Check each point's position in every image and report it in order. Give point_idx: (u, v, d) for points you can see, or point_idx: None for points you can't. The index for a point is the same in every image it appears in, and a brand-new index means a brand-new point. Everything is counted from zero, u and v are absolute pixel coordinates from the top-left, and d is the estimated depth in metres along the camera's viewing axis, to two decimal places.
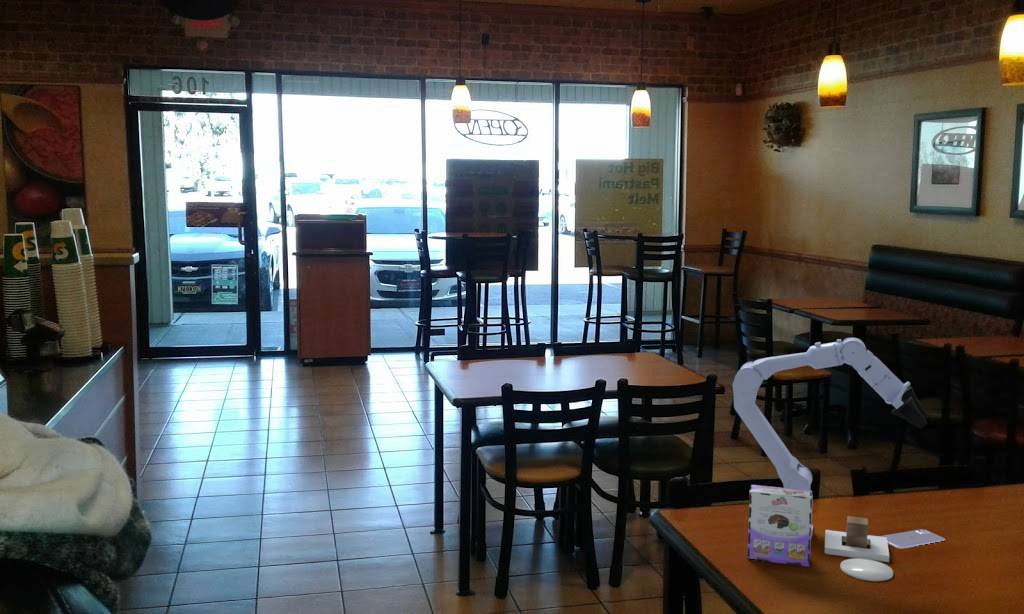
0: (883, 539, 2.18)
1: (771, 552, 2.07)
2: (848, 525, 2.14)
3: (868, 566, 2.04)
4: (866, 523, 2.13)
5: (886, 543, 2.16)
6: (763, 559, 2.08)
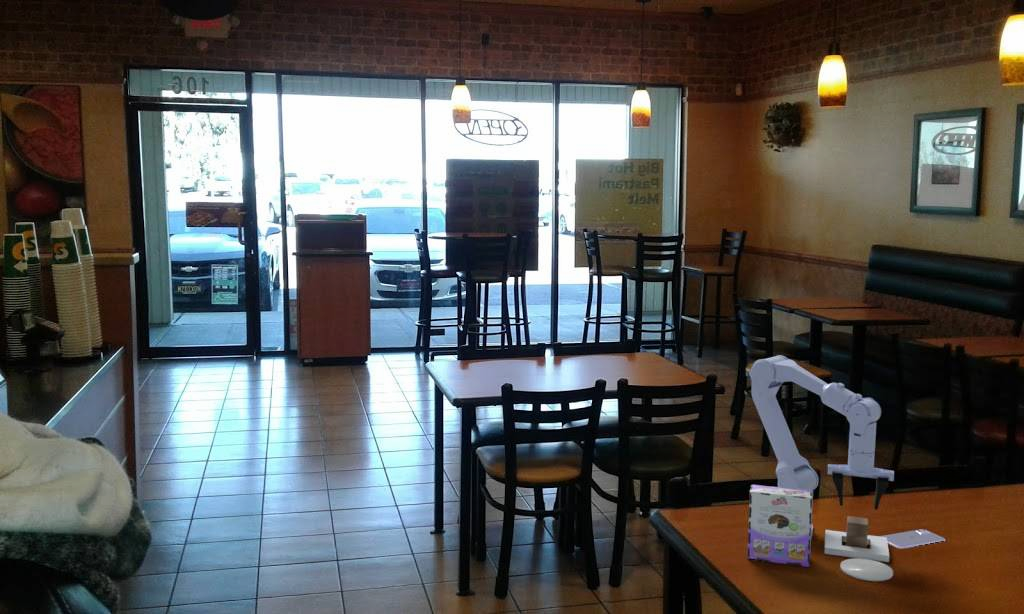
0: (883, 539, 2.18)
1: (771, 552, 2.07)
2: (848, 525, 2.14)
3: (868, 566, 2.04)
4: (866, 523, 2.13)
5: (886, 543, 2.16)
6: (763, 559, 2.08)
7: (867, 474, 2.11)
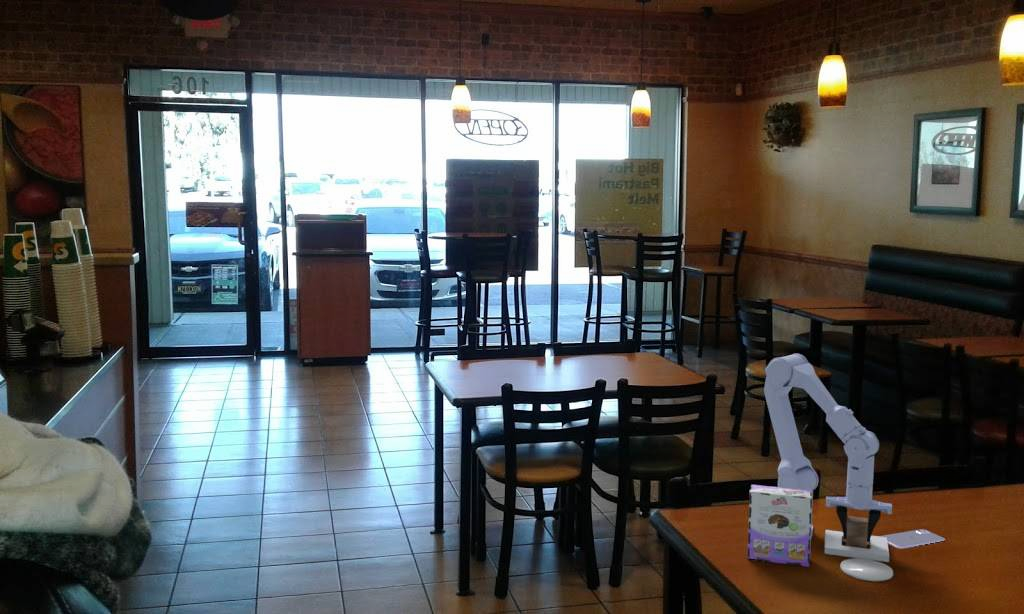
0: (883, 539, 2.18)
1: (771, 552, 2.07)
2: (848, 525, 2.14)
3: (868, 566, 2.04)
4: (866, 523, 2.13)
5: (886, 543, 2.16)
6: (763, 559, 2.08)
7: (865, 507, 2.12)
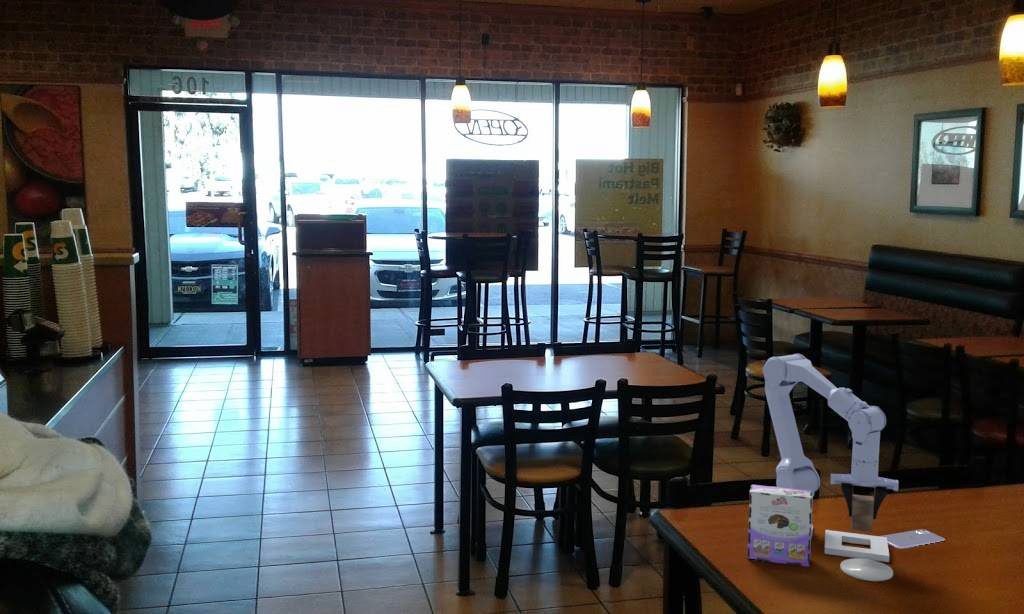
0: (883, 539, 2.18)
1: (771, 552, 2.07)
2: (853, 503, 2.09)
3: (868, 566, 2.04)
4: (872, 501, 2.08)
5: (886, 543, 2.16)
6: (763, 559, 2.08)
7: (871, 484, 2.07)
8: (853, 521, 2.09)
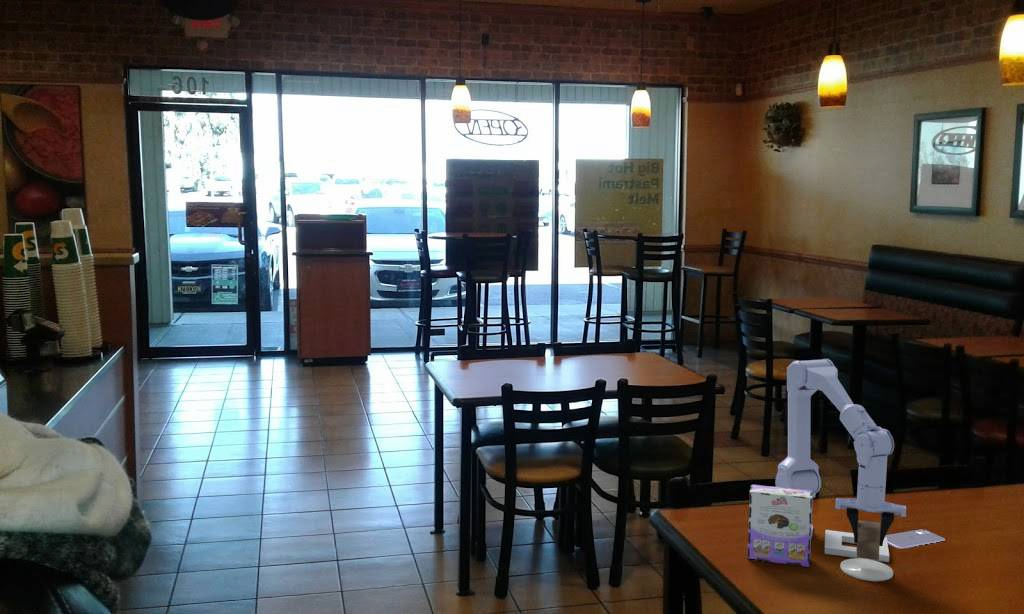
0: None
1: (771, 552, 2.07)
2: (859, 530, 2.01)
3: (868, 566, 2.04)
4: (879, 528, 2.00)
5: (886, 543, 2.16)
6: (763, 559, 2.08)
7: (877, 509, 1.99)
8: (859, 548, 2.02)
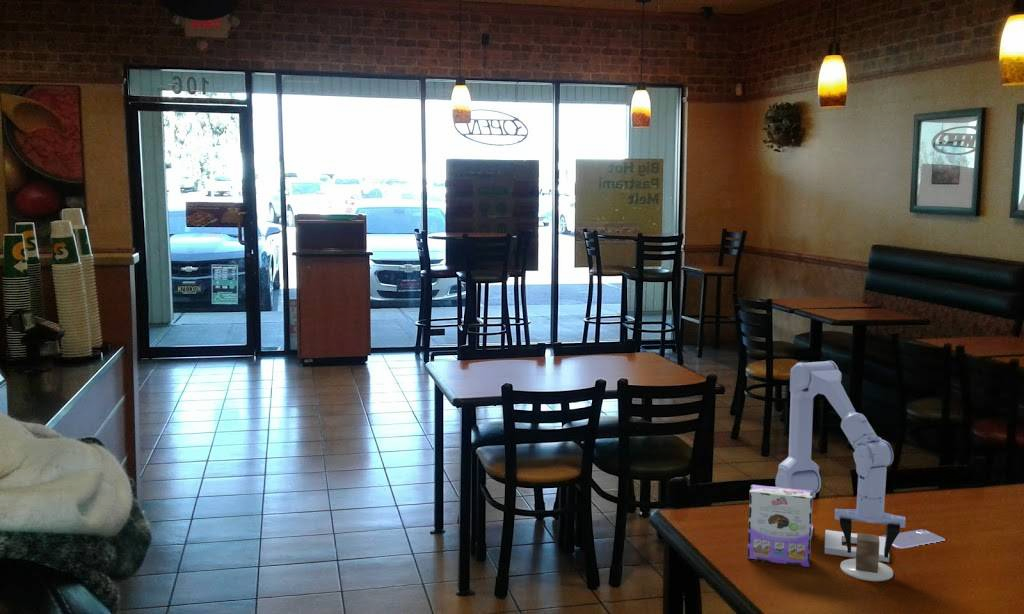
0: (883, 539, 2.18)
1: (771, 552, 2.07)
2: (858, 543, 2.01)
3: None
4: (878, 541, 2.01)
5: None
6: (763, 559, 2.08)
7: (877, 520, 1.99)
8: (858, 561, 2.02)
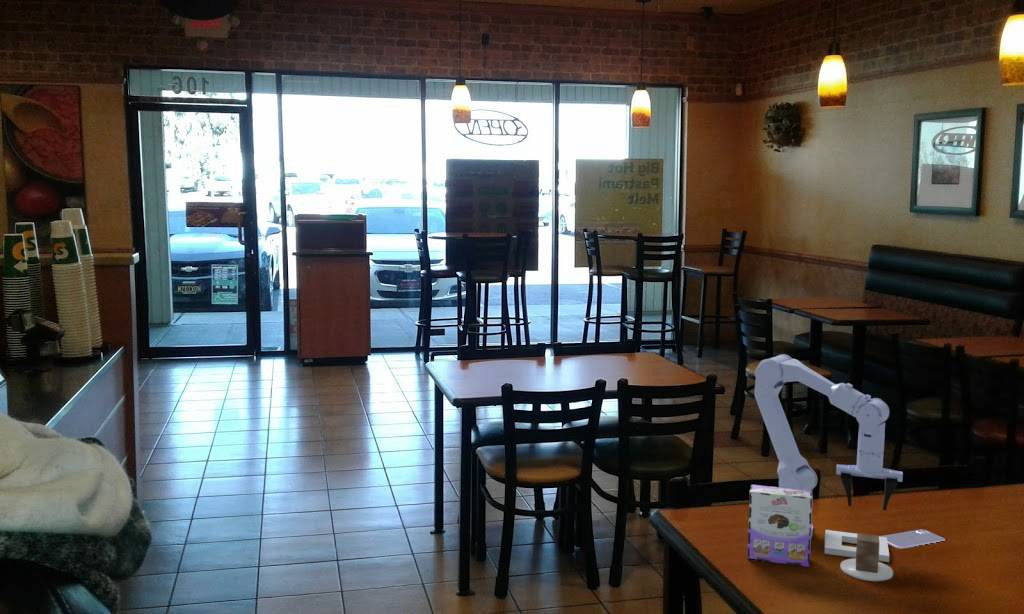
0: (883, 539, 2.18)
1: (771, 552, 2.07)
2: (858, 543, 2.01)
3: None
4: (878, 541, 2.01)
5: (886, 543, 2.16)
6: (763, 559, 2.08)
7: (876, 475, 2.11)
8: (858, 561, 2.02)
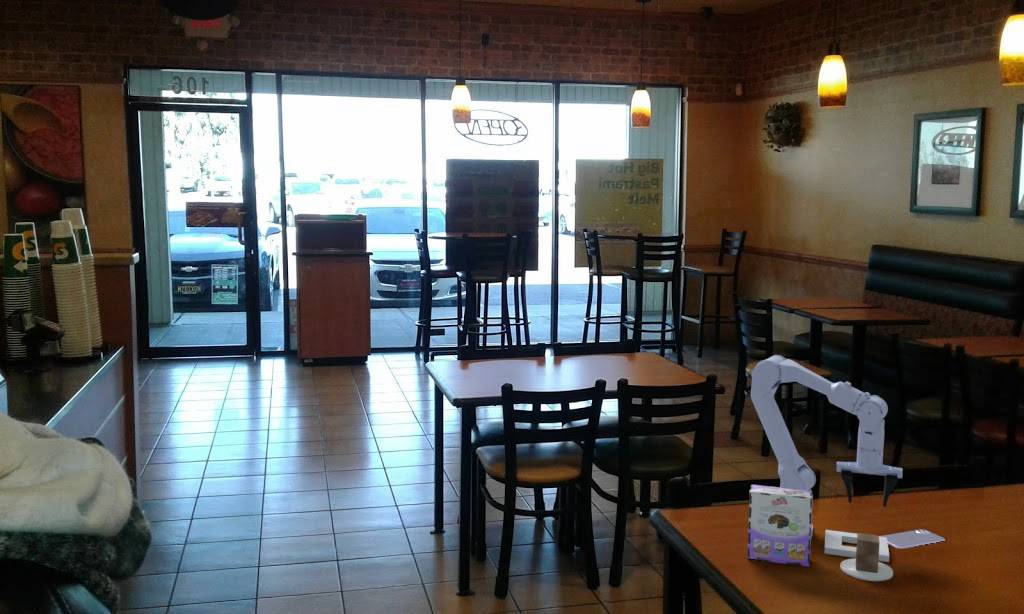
0: (883, 539, 2.18)
1: (771, 552, 2.07)
2: (858, 543, 2.01)
3: None
4: (878, 541, 2.01)
5: (886, 543, 2.16)
6: (763, 559, 2.08)
7: (876, 471, 2.13)
8: (858, 561, 2.02)
